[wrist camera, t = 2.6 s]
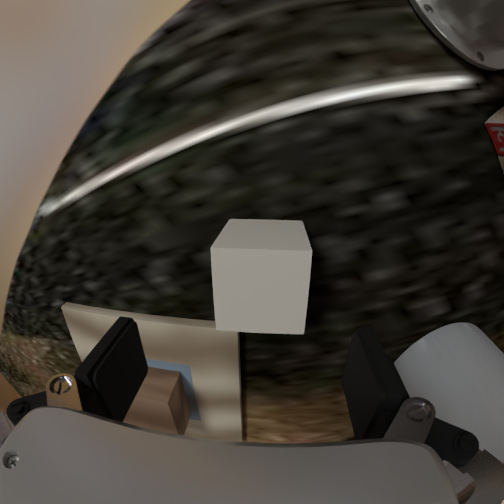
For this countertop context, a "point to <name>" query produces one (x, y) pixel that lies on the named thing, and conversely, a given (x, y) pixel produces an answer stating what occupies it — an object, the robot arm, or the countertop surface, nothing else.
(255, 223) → the cream block
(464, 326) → the utensil holder
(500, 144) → the stack of blocks
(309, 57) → the countertop surface
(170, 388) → the walnut foundation
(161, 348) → the board
